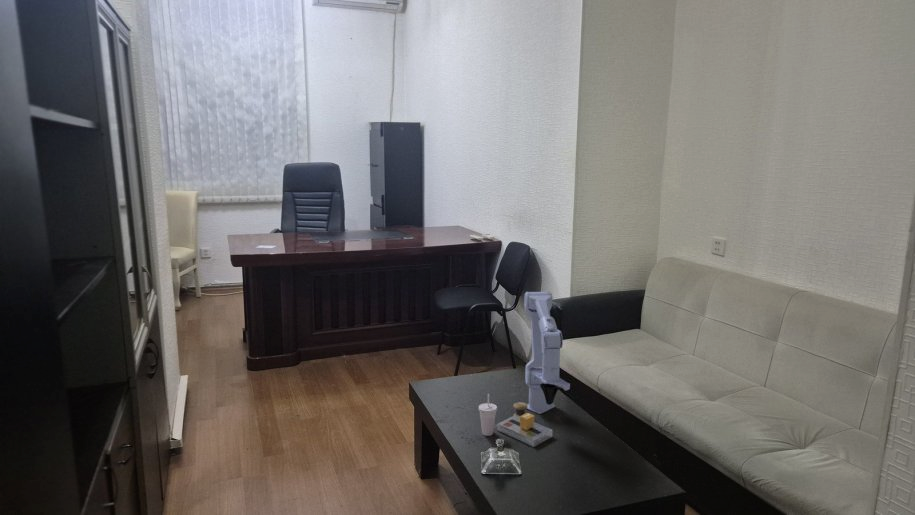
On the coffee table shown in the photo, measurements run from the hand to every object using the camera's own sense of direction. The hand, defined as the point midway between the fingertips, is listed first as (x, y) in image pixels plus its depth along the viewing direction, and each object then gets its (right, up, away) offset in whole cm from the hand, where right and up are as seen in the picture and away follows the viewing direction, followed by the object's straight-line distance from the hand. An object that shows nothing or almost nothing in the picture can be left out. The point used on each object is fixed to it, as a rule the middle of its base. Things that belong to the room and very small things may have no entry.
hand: (549, 403), depth 203 cm
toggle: (-8, -8, 0) cm, 11 cm away
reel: (-9, -8, +13) cm, 18 cm away
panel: (-8, -10, +1) cm, 13 cm away
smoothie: (-21, -11, +1) cm, 24 cm away
